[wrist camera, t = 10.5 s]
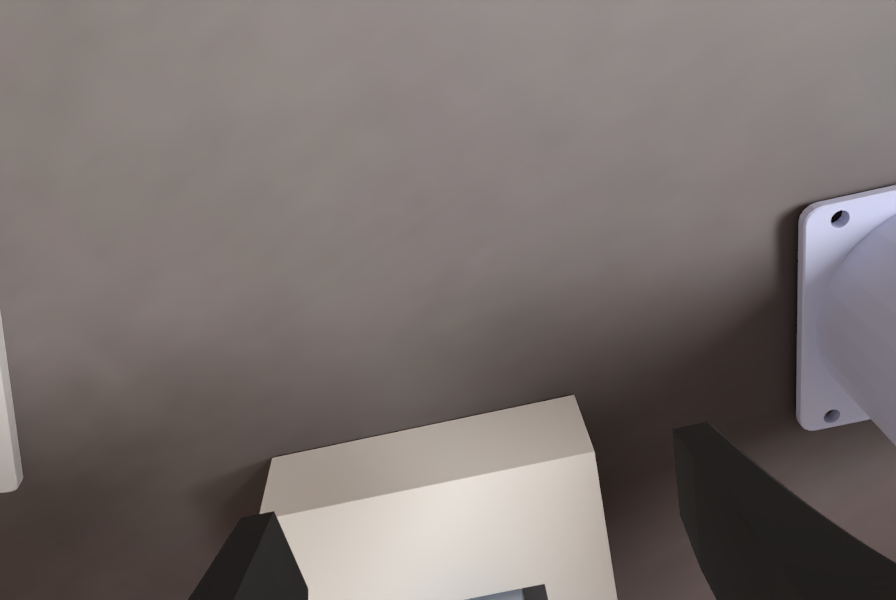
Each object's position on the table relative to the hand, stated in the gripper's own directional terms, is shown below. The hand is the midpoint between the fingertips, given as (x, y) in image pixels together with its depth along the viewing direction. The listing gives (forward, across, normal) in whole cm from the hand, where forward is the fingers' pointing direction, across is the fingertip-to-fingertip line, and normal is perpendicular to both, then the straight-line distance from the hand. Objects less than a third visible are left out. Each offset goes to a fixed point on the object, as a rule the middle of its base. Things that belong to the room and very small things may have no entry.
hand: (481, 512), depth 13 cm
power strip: (+9, +2, +15) cm, 18 cm away
